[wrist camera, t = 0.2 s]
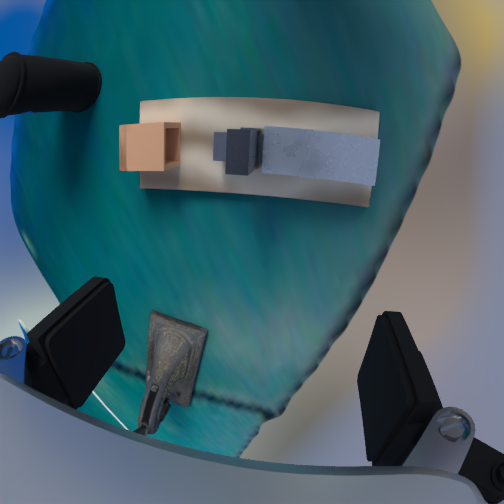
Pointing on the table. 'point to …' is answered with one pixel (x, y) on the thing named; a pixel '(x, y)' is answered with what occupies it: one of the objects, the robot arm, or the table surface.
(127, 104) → the table surface
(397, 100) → the table surface
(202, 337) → the embossing press
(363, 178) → the pale blue rectangular box
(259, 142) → the grey bar
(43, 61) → the aerosol can
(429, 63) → the table surface
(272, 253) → the table surface
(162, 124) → the socket
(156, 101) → the base board
